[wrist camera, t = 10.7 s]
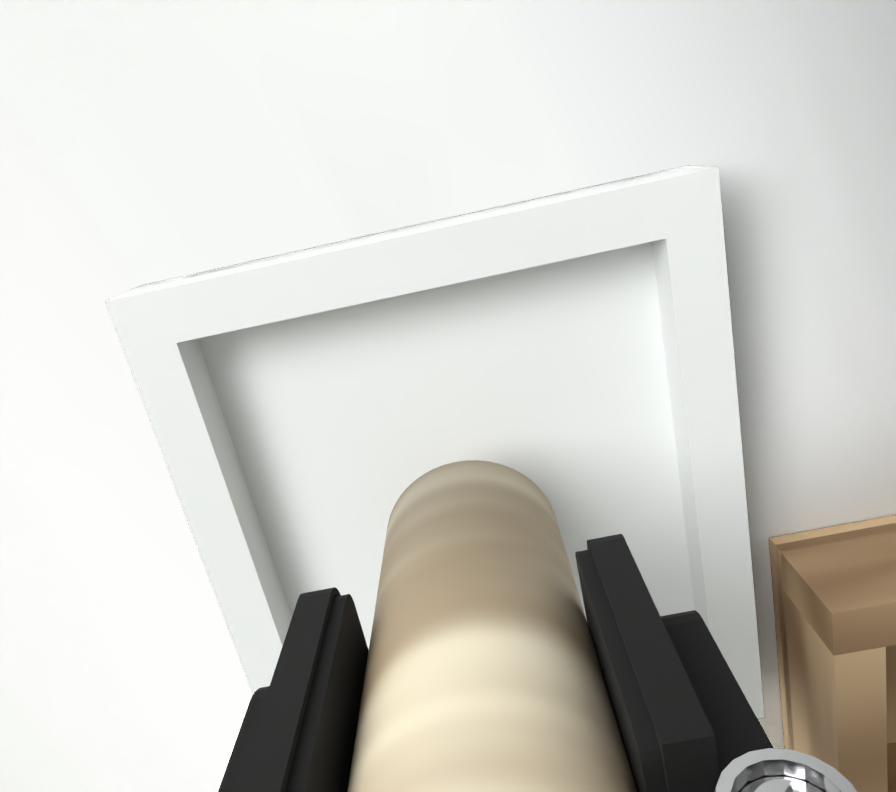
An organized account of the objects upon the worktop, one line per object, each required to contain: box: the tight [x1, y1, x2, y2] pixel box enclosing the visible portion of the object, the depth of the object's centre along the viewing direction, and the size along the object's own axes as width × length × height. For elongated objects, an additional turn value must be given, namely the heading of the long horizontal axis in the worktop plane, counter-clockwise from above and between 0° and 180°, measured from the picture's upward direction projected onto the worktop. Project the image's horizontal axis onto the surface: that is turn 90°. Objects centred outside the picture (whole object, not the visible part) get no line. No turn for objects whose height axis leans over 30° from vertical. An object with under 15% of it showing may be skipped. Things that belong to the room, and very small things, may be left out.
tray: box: [105, 165, 765, 719], centre depth 15 cm, size 12×11×2 cm
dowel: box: [347, 460, 638, 792], centre depth 9 cm, size 3×3×10 cm
